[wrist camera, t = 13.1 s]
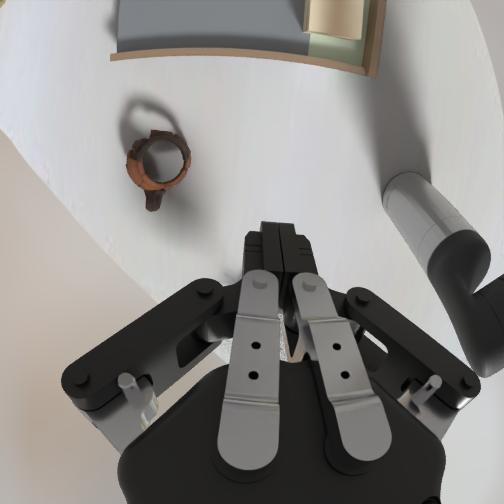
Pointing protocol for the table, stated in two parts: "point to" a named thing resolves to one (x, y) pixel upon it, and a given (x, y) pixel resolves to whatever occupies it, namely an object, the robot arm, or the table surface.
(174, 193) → the table surface
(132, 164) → the brown curved piece
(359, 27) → the maple block
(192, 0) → the board
